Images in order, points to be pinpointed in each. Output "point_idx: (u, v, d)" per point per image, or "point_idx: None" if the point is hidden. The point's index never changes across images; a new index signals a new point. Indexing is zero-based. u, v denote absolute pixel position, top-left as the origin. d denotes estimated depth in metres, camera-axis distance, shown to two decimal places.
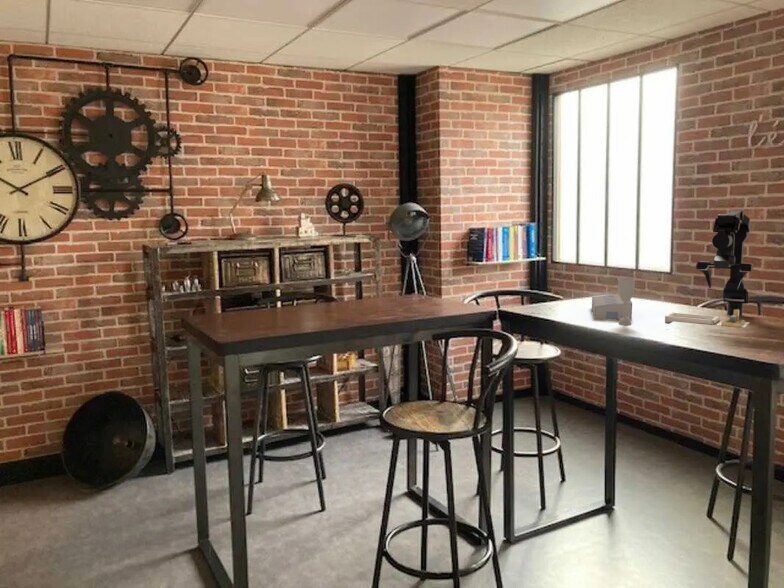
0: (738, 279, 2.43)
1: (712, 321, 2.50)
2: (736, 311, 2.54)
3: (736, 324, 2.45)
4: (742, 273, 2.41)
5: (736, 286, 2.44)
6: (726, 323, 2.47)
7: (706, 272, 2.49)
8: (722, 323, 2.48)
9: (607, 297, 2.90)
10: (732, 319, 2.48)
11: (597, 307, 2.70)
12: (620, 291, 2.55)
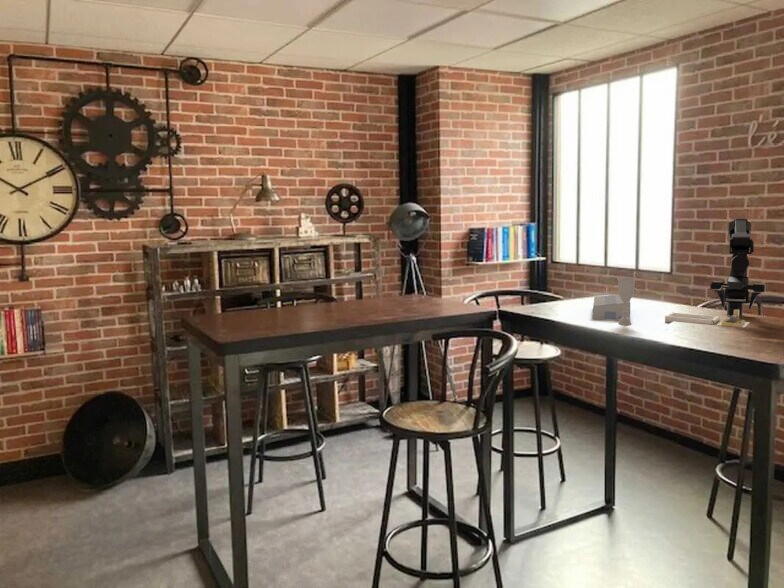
0: (751, 299, 2.50)
1: (712, 321, 2.50)
2: (736, 311, 2.54)
3: (736, 324, 2.45)
4: (755, 294, 2.48)
5: (749, 306, 2.51)
6: (726, 323, 2.47)
7: (720, 292, 2.55)
8: (722, 323, 2.48)
9: (608, 297, 2.90)
10: (732, 319, 2.48)
11: (595, 307, 2.70)
12: (620, 291, 2.55)
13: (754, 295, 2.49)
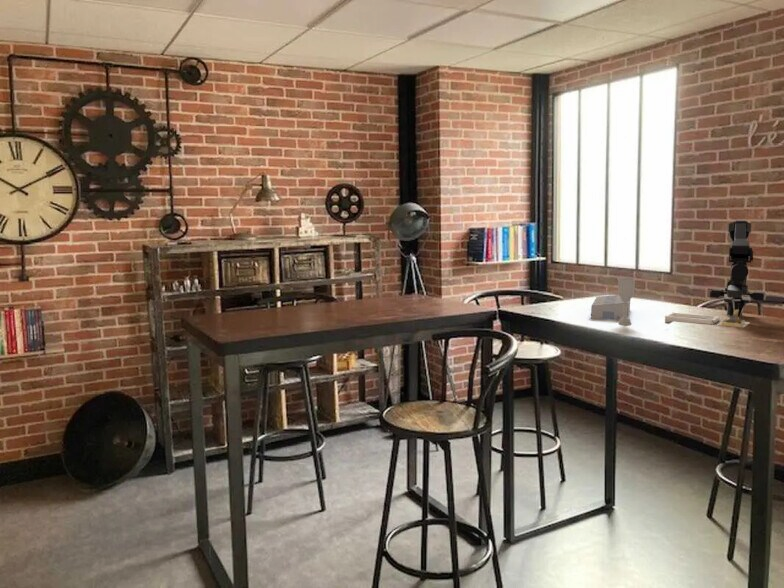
0: (740, 307, 2.52)
1: (712, 321, 2.50)
2: (736, 311, 2.54)
3: (736, 324, 2.45)
4: (744, 301, 2.50)
5: (738, 313, 2.54)
6: (726, 323, 2.47)
7: (730, 301, 2.53)
8: (722, 323, 2.48)
9: (610, 297, 2.89)
10: (732, 319, 2.48)
11: (593, 307, 2.71)
12: (620, 291, 2.55)
13: (743, 303, 2.51)
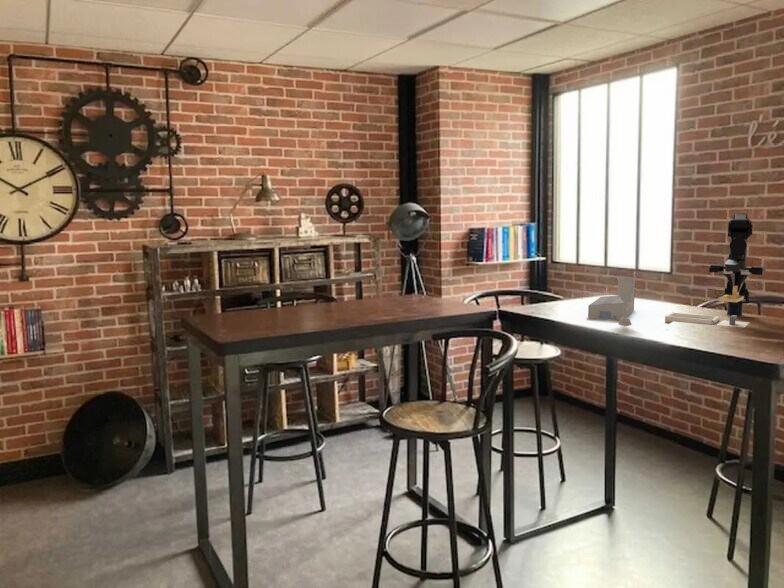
0: (739, 282, 2.51)
1: (712, 321, 2.50)
2: (735, 287, 2.53)
3: (733, 300, 2.45)
4: (743, 276, 2.49)
5: None
6: (723, 299, 2.47)
7: (729, 276, 2.53)
8: (719, 299, 2.48)
9: (612, 297, 2.89)
10: (732, 319, 2.48)
11: (590, 306, 2.72)
12: (620, 291, 2.55)
13: (742, 277, 2.50)
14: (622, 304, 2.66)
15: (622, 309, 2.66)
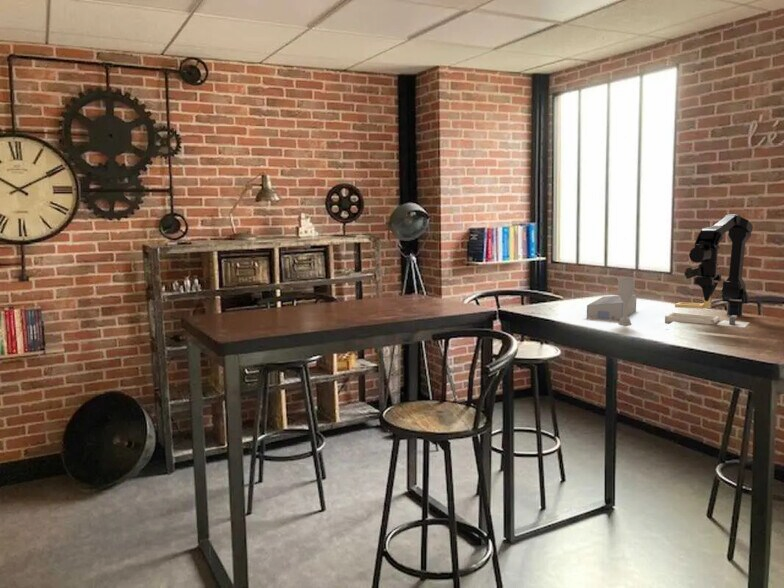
0: None
1: (712, 321, 2.50)
2: None
3: None
4: None
5: (704, 297, 2.55)
6: None
7: None
8: None
9: (613, 297, 2.89)
10: (732, 319, 2.48)
11: (589, 306, 2.73)
12: (620, 291, 2.55)
13: None
14: (620, 304, 2.66)
15: (620, 309, 2.66)
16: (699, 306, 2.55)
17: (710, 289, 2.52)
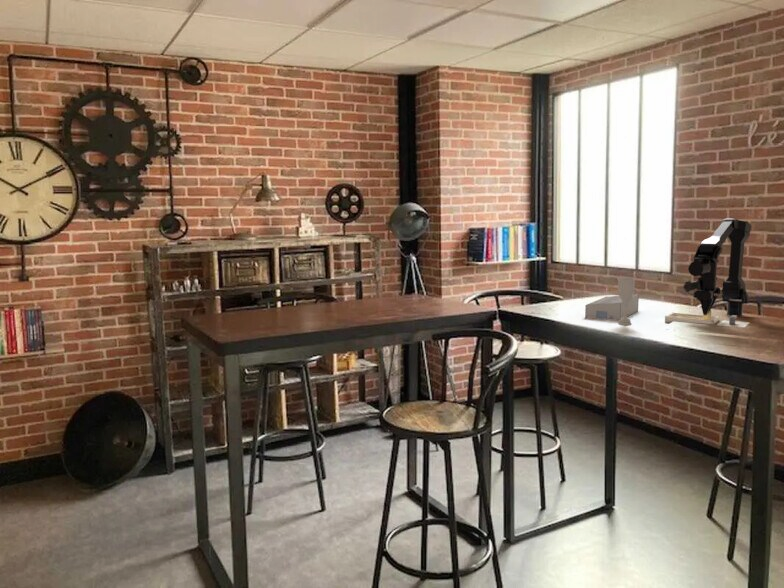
0: None
1: (712, 321, 2.50)
2: None
3: None
4: None
5: None
6: None
7: None
8: None
9: (615, 297, 2.89)
10: (732, 319, 2.48)
11: (587, 306, 2.73)
12: (620, 291, 2.55)
13: None
14: (618, 304, 2.66)
15: (618, 309, 2.66)
16: None
17: (708, 303, 2.52)
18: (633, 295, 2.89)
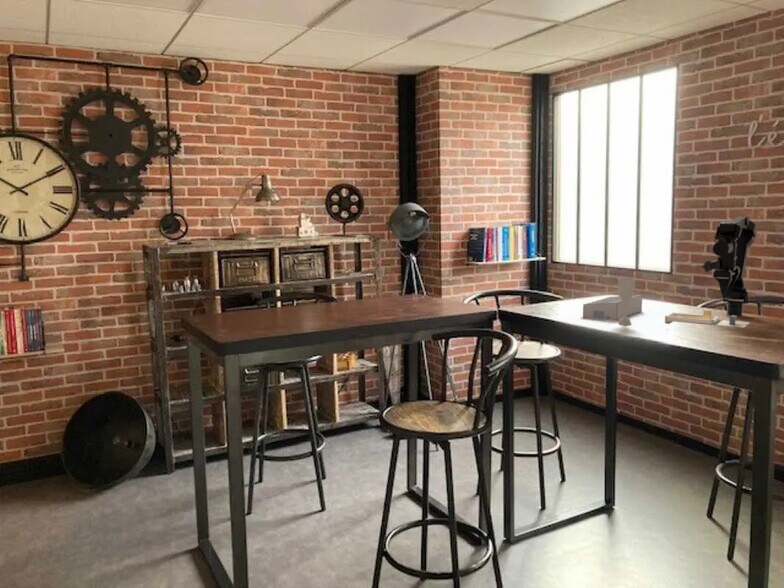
0: None
1: (712, 321, 2.50)
2: None
3: None
4: None
5: (721, 291, 2.56)
6: None
7: None
8: None
9: None
10: (732, 319, 2.48)
11: (585, 305, 2.74)
12: (620, 291, 2.55)
13: None
14: (615, 304, 2.66)
15: (615, 309, 2.67)
16: None
17: (727, 283, 2.53)
18: (636, 295, 2.88)
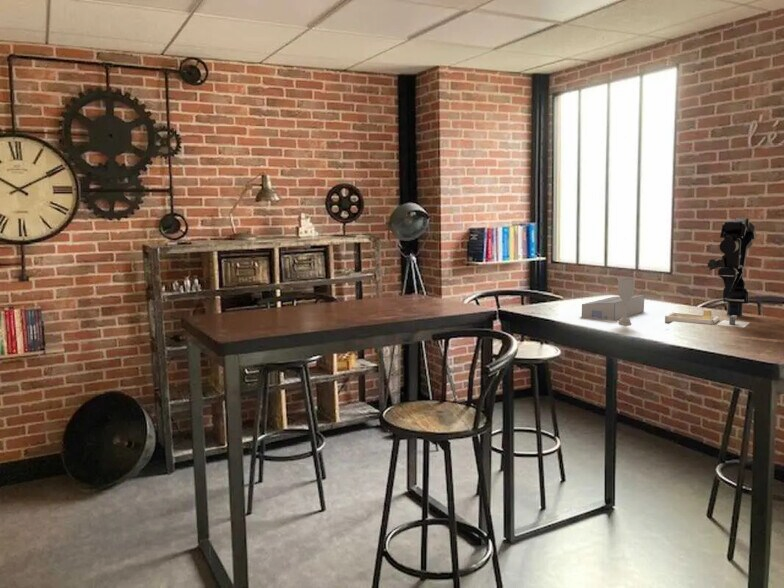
0: (724, 282, 2.56)
1: (712, 321, 2.50)
2: None
3: None
4: (720, 276, 2.55)
5: (725, 289, 2.56)
6: None
7: None
8: None
9: None
10: (732, 319, 2.48)
11: (584, 305, 2.75)
12: (620, 291, 2.55)
13: None
14: (612, 304, 2.67)
15: (612, 309, 2.67)
16: None
17: (731, 281, 2.53)
18: (638, 296, 2.87)
